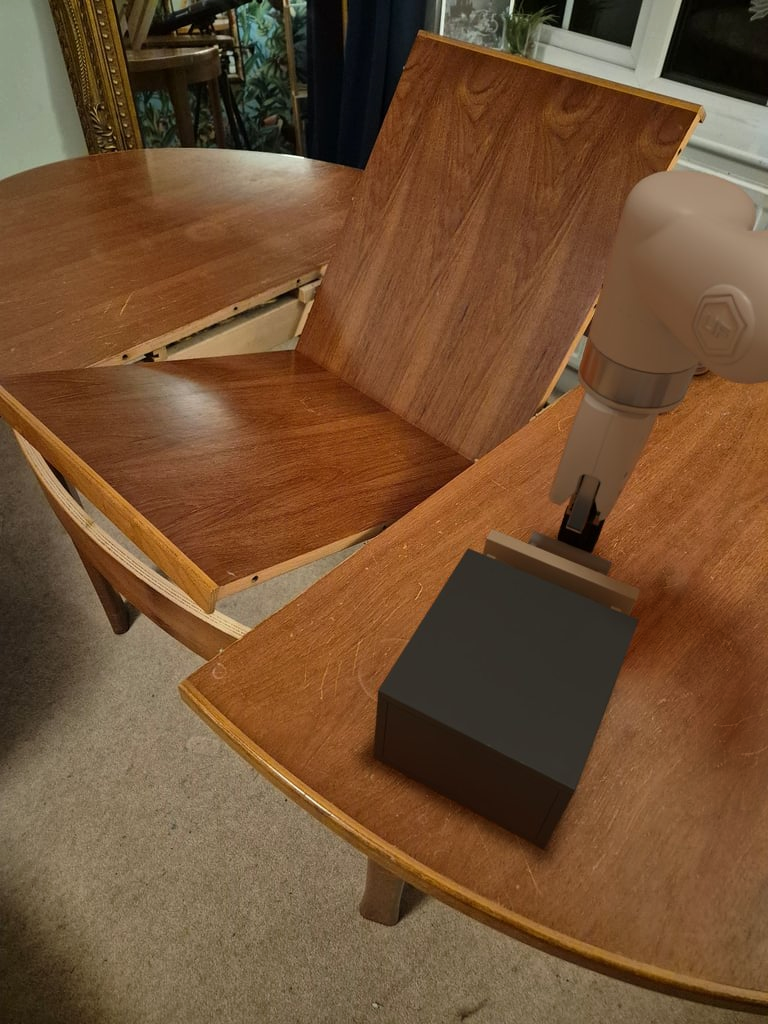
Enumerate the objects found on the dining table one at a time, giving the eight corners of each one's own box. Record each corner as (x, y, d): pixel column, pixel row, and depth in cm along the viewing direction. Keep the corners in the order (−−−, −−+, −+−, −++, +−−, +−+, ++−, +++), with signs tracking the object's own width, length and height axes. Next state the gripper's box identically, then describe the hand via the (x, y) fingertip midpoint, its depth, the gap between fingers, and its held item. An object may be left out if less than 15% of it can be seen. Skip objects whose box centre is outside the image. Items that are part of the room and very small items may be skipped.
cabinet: (454, 620, 65) (467, 547, 58) (605, 689, 61) (639, 619, 54) (372, 757, 56) (377, 690, 49) (543, 850, 51) (575, 790, 45)
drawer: (496, 557, 69) (510, 497, 63) (627, 612, 65) (654, 553, 60) (409, 705, 58) (417, 648, 52) (561, 781, 54) (586, 729, 48)
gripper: (615, 303, 57) (563, 476, 71) (549, 403, 48) (503, 581, 61) (713, 332, 55) (641, 505, 68) (663, 442, 46) (591, 619, 59)
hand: (576, 541), depth 65 cm, fingers closed
